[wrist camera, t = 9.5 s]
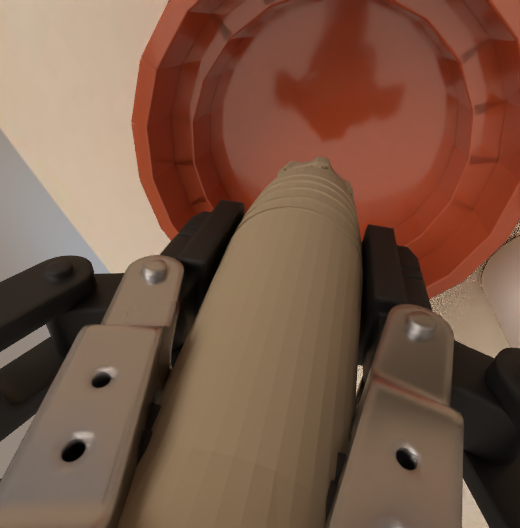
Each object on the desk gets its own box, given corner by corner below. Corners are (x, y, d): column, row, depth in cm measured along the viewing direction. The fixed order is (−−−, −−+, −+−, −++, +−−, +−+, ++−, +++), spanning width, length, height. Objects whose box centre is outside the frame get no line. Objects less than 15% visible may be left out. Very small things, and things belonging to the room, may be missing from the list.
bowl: (172, -71, 16) (96, -111, 11) (581, -48, 14) (704, -88, 9) (191, 241, 26) (155, 289, 22) (424, 285, 24) (441, 350, 19)
